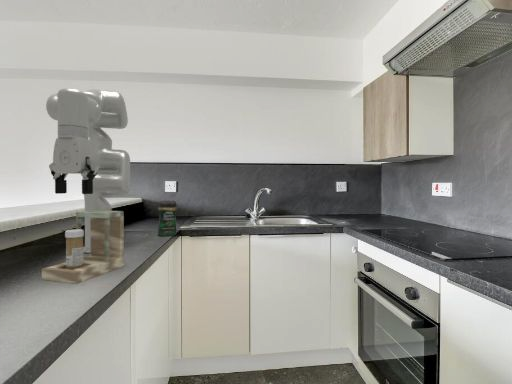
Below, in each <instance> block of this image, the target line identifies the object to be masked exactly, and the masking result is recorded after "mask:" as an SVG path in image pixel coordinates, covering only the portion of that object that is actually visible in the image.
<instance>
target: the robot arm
mask: <svg viewBox="0 0 512 384" xmlns="http://www.w3.org/2000/svg"><path fill="white" fill-rule="evenodd" d="M125 102H126V101H125V99H124V96H123V95H122V93H120V92H119V91H115V90H105V89H96V88H95V89H93V88H92V89H88V90H85V91H82V90H79V89H76V88H62V89H59V90H58V92H57V93H54V94H51V95H50V96H49V97H48V98H47V100H46V103H45V106H46V107H45V108H46V112H47V114H48V116H49V118H51V119H52V120H54V121H57V137H56V138H55V141H54V145H53V154H52V155H53V156H52V162H51V163H50V164H49V165H48V168H49V170H50V173H51V175H52V177H53V178H52V179H53V180H54V193H55V194H67V189H68V188H67V184H68V183H67V179H66V178H67V176H68V174H74V175H75V174H76V175H77V174H80V175H81V176H82V178H81V194H82V195H83V199H84V200H83V201H84V211H91V210H101V211H112V206H111V204H110V202H109V201H108V200H107V199H106V198H105V197H109V196H111V197H113V196H114V197H118V196H120V197H123V196H127V195H128V194H129V192H130V185H131V157H130V154H129V152H127V151H126V150H123V149H113V147H112V146H113V140H112V138H111V137H110V135H109V134H108V133H106V132H105V130H103V129H116V130H121V129H122V130H123V129H126V127H127V126H128V123H129V119H128V111H127V107H126V103H125ZM102 128H103V129H102ZM83 253H84V254H85V253H87V254H89V253H90V254H91V241H90V217H84V245H83Z"/></svg>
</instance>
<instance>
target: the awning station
mask: <svg viewBox="0 0 512 384" xmlns="http://www.w3.org/2000/svg"><path fill="white" fill-rule="evenodd" d="M124 215H125V214H124V211H123V210H111V211H101V210H91V211H85V210H84V211H83V210H80V211H75V229H82V218H85V217H90V241H91V253H90V255H88V256H87V255H86V256H83V267H81V268H78V269H75V270H69V269H66V261H65V262H62V263H59V264H54V265H51V266H47V267H44V268H42V269H41V280H42V281H51V282H58V283H67V284H75V285H76V284H79V283H82V282H84V281H88V280H91V279H93V278H95V277H98V276H100V275H103V274H106V273H109V272H112V271H114V270H116V269H119V268H123V267H124V266H125V265H124V264H125V259H124V258H125V254H124V253H125V248H124V247H125V246H124V245H125V244H124V243H125V242H124V239H125V238H124V237H125V234H124V233H125V232H124V229H125V228H124V224H125V223H124V222H125V221H124V220H125V219H124V218H125V216H124Z"/></svg>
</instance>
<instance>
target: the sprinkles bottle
mask: <svg viewBox="0 0 512 384" xmlns="http://www.w3.org/2000/svg"><path fill="white" fill-rule="evenodd" d="M64 237H65V262H66V269H69V270H75V269H78V268H81V267H83V257H84V252H83V247H84V237H85V229H82V228H81V229H76V228H75V229H67V230H65V232H64Z"/></svg>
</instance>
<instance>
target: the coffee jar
mask: <svg viewBox="0 0 512 384" xmlns="http://www.w3.org/2000/svg"><path fill="white" fill-rule="evenodd" d="M177 207H178V206H177V202H176V200H160V201H159V202H158V207H157V210H158V213H159V218H158V227H157V228H158V229H157V235H158V236H159V235H160V237H172V236H173V237H174V236H176V235H177V233H178V230H177V221H176V220H177V217H176V213H177V210H178V208H177Z"/></svg>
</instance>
